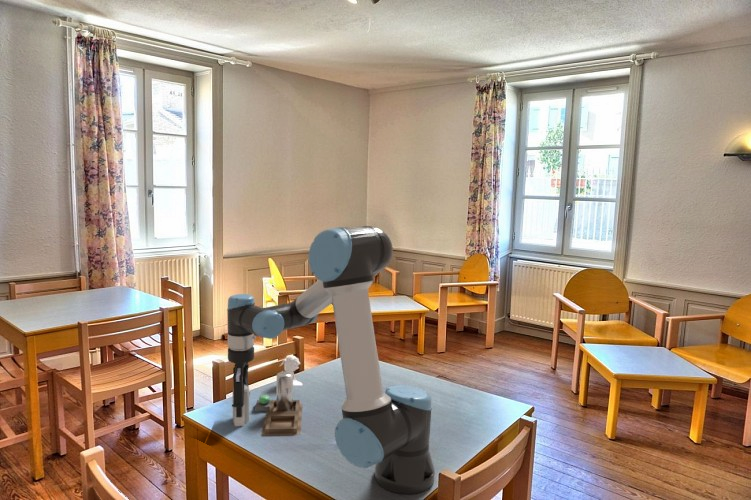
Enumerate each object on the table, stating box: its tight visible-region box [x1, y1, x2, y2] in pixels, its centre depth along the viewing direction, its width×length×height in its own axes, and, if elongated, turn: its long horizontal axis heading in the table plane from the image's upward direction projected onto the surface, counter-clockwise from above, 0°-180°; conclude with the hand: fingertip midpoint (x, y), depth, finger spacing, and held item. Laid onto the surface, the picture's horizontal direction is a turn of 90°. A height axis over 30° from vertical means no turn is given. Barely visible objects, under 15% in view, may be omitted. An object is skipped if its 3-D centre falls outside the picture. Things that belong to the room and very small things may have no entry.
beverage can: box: [232, 384, 250, 425], centre depth 152 cm, size 5×5×12 cm
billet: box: [276, 370, 294, 412], centre depth 159 cm, size 5×5×12 cm
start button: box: [258, 394, 271, 404], centre depth 161 cm, size 3×3×2 cm
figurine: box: [279, 355, 303, 386], centre depth 180 cm, size 9×9×12 cm
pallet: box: [254, 399, 303, 436], centre depth 155 cm, size 20×14×3 cm
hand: (241, 421), depth 153 cm, fingers open, 5 cm apart
